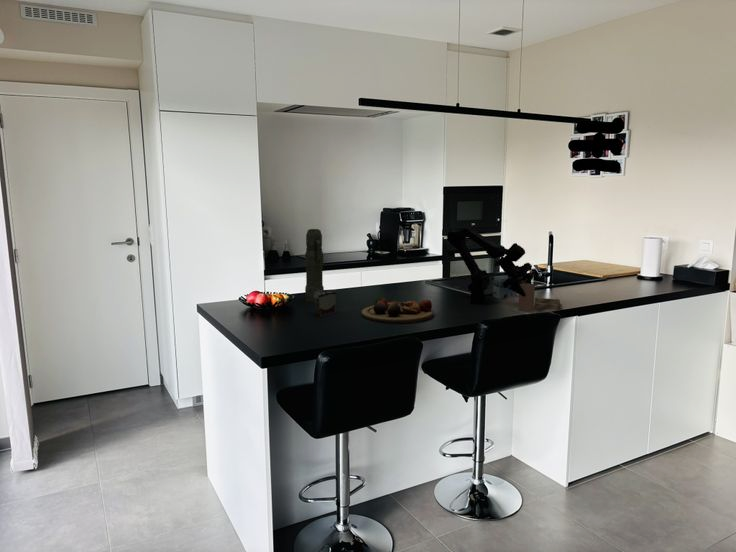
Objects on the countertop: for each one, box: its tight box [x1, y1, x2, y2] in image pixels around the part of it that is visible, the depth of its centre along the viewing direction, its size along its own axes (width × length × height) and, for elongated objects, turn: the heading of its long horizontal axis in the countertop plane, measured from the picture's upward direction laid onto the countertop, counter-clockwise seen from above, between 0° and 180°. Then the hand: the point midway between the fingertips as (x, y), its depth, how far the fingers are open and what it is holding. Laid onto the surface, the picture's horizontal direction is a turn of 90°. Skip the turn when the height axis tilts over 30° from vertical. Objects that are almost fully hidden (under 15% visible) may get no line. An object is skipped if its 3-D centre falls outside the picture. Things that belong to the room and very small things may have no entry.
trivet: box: [513, 307, 539, 314], centre depth 256 cm, size 11×11×1 cm
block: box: [517, 283, 536, 312], centre depth 255 cm, size 5×5×12 cm
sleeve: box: [534, 297, 561, 311], centre depth 265 cm, size 11×14×3 cm
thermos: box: [304, 228, 325, 304], centre depth 272 cm, size 9×12×35 cm
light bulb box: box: [492, 275, 518, 300], centre depth 286 cm, size 11×7×11 cm, turn 105°
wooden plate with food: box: [360, 296, 435, 324], centre depth 248 cm, size 32×32×8 cm
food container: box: [314, 289, 338, 317], centre depth 249 cm, size 12×6×10 cm, turn 141°
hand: (529, 295), depth 253 cm, fingers open, 7 cm apart
